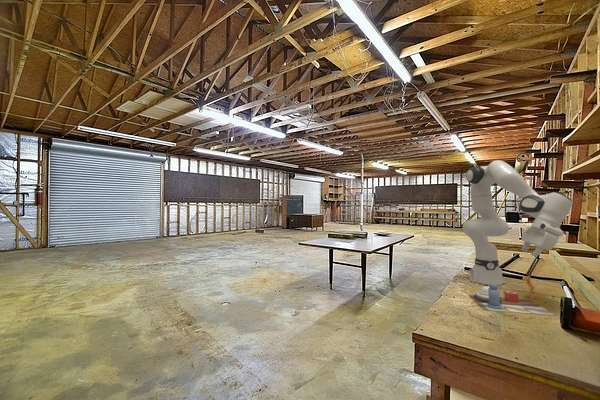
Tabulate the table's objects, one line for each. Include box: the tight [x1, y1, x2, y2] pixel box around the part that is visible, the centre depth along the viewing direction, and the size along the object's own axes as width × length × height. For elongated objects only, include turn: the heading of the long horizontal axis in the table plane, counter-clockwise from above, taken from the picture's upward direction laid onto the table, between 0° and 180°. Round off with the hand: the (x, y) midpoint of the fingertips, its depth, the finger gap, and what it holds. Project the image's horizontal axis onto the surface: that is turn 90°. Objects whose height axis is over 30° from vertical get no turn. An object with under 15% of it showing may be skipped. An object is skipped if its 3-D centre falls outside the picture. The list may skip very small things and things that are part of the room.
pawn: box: [487, 283, 502, 309], centre depth 120 cm, size 5×5×11 cm
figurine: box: [523, 275, 541, 300], centre depth 132 cm, size 8×6×12 cm
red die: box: [504, 290, 520, 303], centre depth 127 cm, size 4×4×4 cm
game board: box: [467, 293, 557, 320], centre depth 123 cm, size 22×26×2 cm
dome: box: [475, 285, 490, 300], centre depth 130 cm, size 9×9×5 cm
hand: (528, 253), depth 123 cm, fingers open, 8 cm apart
